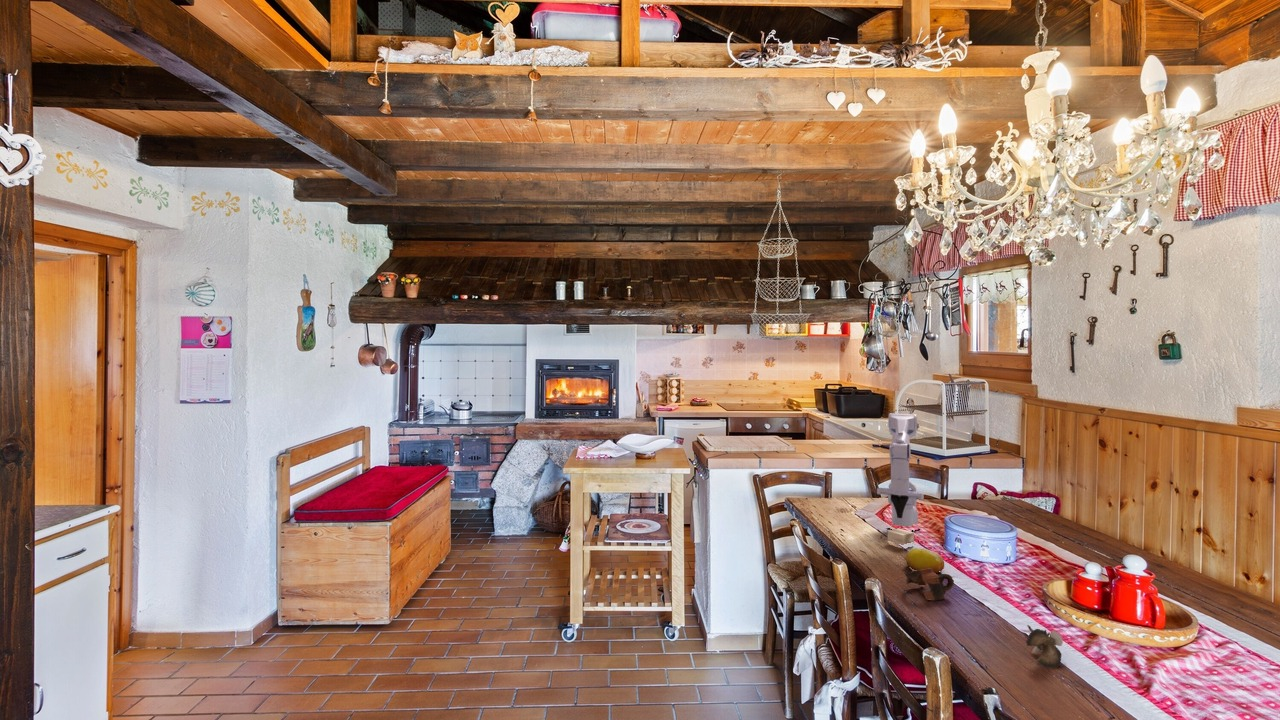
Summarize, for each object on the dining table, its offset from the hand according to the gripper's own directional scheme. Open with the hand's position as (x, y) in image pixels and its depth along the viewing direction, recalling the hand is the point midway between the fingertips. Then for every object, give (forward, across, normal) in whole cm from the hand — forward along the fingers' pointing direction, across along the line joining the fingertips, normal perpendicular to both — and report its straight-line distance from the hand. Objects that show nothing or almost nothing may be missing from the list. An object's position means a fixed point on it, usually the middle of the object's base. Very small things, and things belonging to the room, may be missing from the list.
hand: (899, 517), depth 200 cm
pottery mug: (+11, +14, -38) cm, 42 cm away
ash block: (+10, 0, +2) cm, 11 cm away
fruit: (+11, +10, -18) cm, 23 cm away
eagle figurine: (+11, +39, -61) cm, 73 cm away
